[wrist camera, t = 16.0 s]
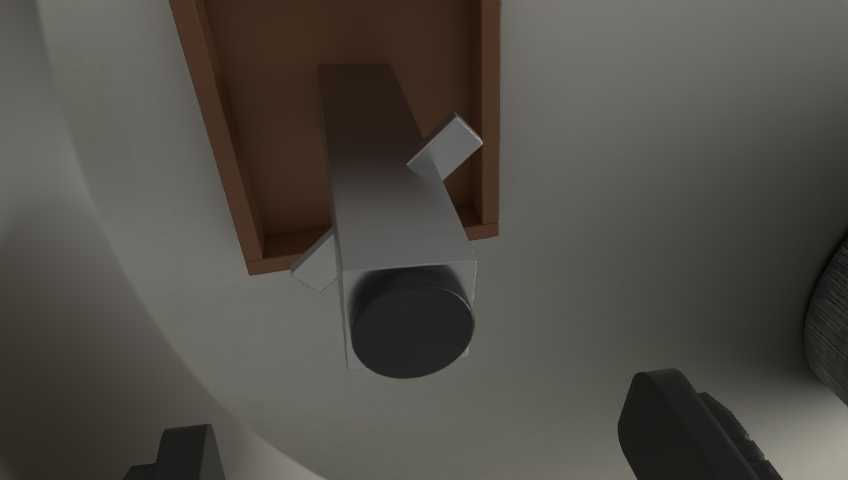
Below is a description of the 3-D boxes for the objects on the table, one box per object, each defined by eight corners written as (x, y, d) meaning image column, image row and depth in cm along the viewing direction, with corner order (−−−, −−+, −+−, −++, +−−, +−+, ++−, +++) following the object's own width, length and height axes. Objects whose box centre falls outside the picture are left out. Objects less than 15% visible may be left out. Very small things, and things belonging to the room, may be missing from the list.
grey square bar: (292, 164, 26) (294, 436, 14) (278, 30, 23) (267, 237, 11) (420, 157, 27) (521, 406, 15) (424, 28, 24) (556, 216, 12)
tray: (164, -69, 21) (151, -59, 19) (483, -98, 22) (503, -92, 20) (252, 245, 29) (249, 276, 27) (484, 209, 30) (498, 236, 28)
